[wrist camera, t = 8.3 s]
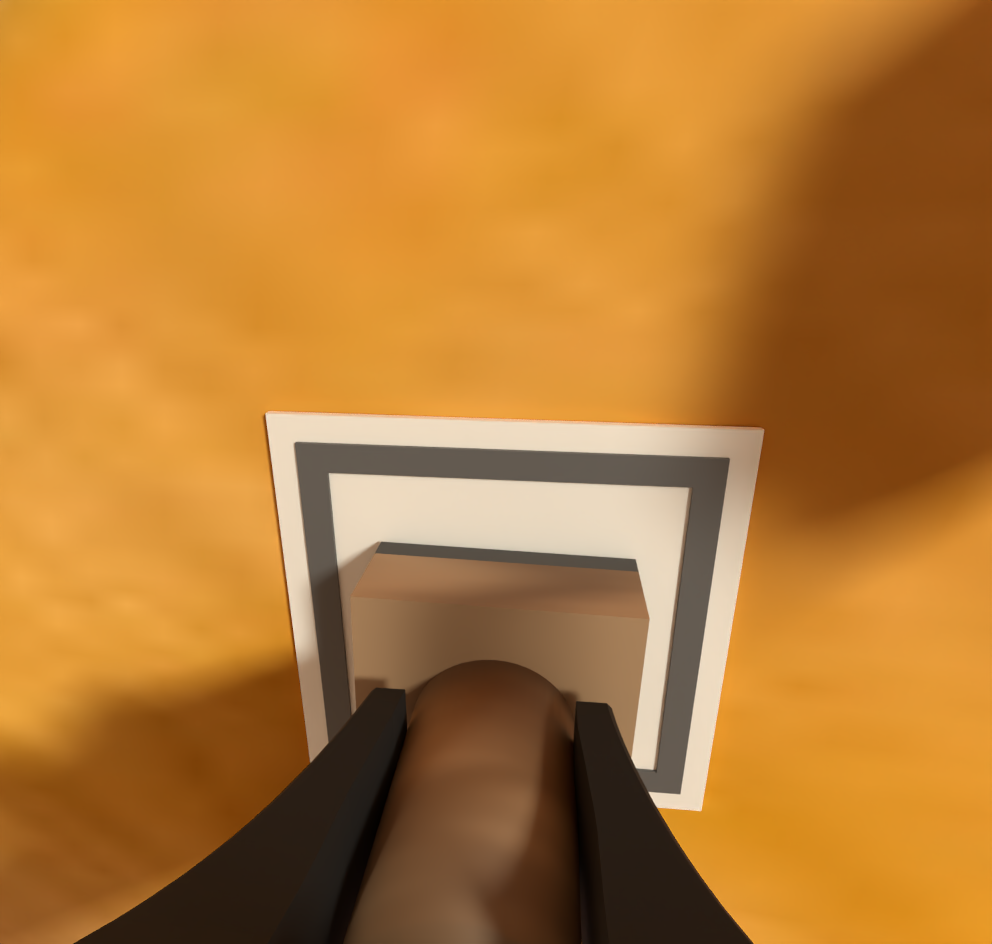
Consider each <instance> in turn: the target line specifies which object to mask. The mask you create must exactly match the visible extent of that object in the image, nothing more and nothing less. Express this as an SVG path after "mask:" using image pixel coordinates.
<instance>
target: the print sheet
mask: <svg viewBox="0 0 992 944" xmlns="http://www.w3.org/2000/svg"><path fill="white" fill-rule="evenodd" d="M265 414H266V422H267V430H268V438H269V445H270V453H271V461H272V469H273V477H274V484H275V492H276V500H277V508H278V516H279V523H280V531H281V539H282V547H283V555H284V562H285V570H286V578H287V586H288V593H289V601H290V609H291V617H292V625H293V632H294V640H295V648H296V656H297V664H298V671H299V679H300V687H301V695H302V703H303V710H304V718H305V726H306V734H307V742H308V749H309V757H310V763H311V762H312V761H313V760H314V758H315V757H316V756H317V755H318V754H319V753H320V752H321V751H322V750H323V748H324V747H325V746H326V745H327V744H328V743H329V742H330V741H331V740H332V738H333V737H334V736H335V735H336V734H337V733H338V731H339V730H340V729H341V728H342V727H343V726H344V724H345V723H346V722H347V721H348V720H349V718H350V717H351V716H352V715H353V713H354V712H355V711H356V698H355V679H354V661H353V642H352V624H351V605H350V596H351V594H352V592H353V590H354V589H355V587H356V585H357V583H358V582H359V580H360V578H361V576H362V575H363V573H364V571H365V569H366V567H367V566H368V564H369V562H370V560H371V559H372V557H373V555H374V553H375V552H376V550H377V548H378V546H379V545H380V543H381V542H394V543H408V544H423V545H437V546H452V547H466V548H481V549H496V550H510V551H525V552H539V553H554V554H568V555H583V556H597V557H612V558H626V559H636V563H637V567H638V571H639V575H640V580H641V584H642V588H643V593H644V597H645V601H646V605H647V610H648V614H649V618H650V620H649V628H648V636H647V643H646V651H645V658H644V666H643V674H642V681H641V689H640V696H639V704H638V712H637V719H636V727H635V734H634V742H633V750H632V757H631V759H632V761H633V763H634V765H635V767H636V769H637V771H638V773H639V775H640V777H641V779H642V781H643V783H644V785H645V787H646V788H647V790H648V792H649V794H650V796H651V798H652V800H653V802H654V803H655V805H656V807H658V808H671V809H683V810H695V811H701V810H702V804H703V797H704V791H705V785H706V779H707V773H708V767H709V761H710V755H711V749H712V743H713V737H714V731H715V725H716V719H717V713H718V707H719V701H720V695H721V689H722V683H723V677H724V671H725V665H726V659H727V653H728V647H729V641H730V635H731V629H732V623H733V617H734V611H735V605H736V599H737V593H738V587H739V581H740V574H741V568H742V562H743V556H744V550H745V544H746V538H747V532H748V526H749V520H750V514H751V508H752V502H753V496H754V490H755V484H756V478H757V472H758V466H759V460H760V454H761V448H762V442H763V436H764V429H763V428H762V427H734V426H704V425H673V424H643V423H613V422H583V421H553V420H523V419H493V418H463V417H433V416H403V415H372V414H342V413H312V412H282V411H268V412H267V413H265Z"/></svg>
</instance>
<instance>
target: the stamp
mask: <svg viewBox="0 0 992 944" xmlns="http://www.w3.org/2000/svg"><path fill="white" fill-rule="evenodd" d="M350 605H351V624H352V642H353V661H354V679H355V698H356V710H357V709H358V707H359V706H360V705H361V704H362V702H363V701H364V700H365V698H366V697H367V696H368V695H369V693H370V692H371V691H372V690H373V689H375V688H376V687H377V688H392V689H405V695H406V714H407V733H406V737H405V740H404V743H403V747H402V750H401V753H400V756H399V760H398V763H397V766H396V770H395V773H394V776H393V780H392V783H391V786H390V790H389V793H388V796H387V800H386V803H385V806H384V810H383V813H382V816H381V819H380V823H379V826H378V829H377V833H376V836H375V839H374V843H373V846H372V849H371V853H370V856H369V859H368V863H367V866H366V869H365V873H364V876H363V879H362V883H361V886H360V889H359V892H358V896H357V899H356V902H355V906H354V909H353V912H352V916H351V919H350V922H349V926H348V929H347V932H346V936H345V939H344V942H343V944H582V941H581V910H580V878H579V847H578V821H577V808H576V794H575V784H574V750H573V740H574V724H575V709H576V701H583V702H597V703H607V704H608V705H609V706H610V707H611V708H612V710H613V714H614V717H615V720H616V723H617V725H618V728H619V731H620V733H621V736H622V738H623V741H624V743H625V745H626V747H627V750H628V752H629V754H630V756H631V757H632V750H633V742H634V734H635V727H636V719H637V712H638V704H639V696H640V689H641V681H642V674H643V666H644V658H645V651H646V643H647V636H648V628H649V620H650V618H649V614H648V610H647V605H646V601H645V597H644V593H643V588H642V584H641V580H640V575H639V571H638V567H637V563H636V559H626V558H612V557H597V556H583V555H568V554H554V553H539V552H525V551H510V550H496V549H481V548H466V547H452V546H437V545H423V544H408V543H394V542H381V543H380V545H379V546H378V548H377V550H376V552H375V553H374V555H373V557H372V559H371V560H370V562H369V564H368V566H367V567H366V569H365V571H364V573H363V575H362V576H361V578H360V580H359V582H358V583H357V585H356V587H355V589H354V590H353V592H352V594H351V596H350Z"/></svg>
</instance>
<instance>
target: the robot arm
mask: <svg viewBox="0 0 992 944" xmlns="http://www.w3.org/2000/svg"><path fill="white" fill-rule="evenodd" d="M406 733H407V714H406V695H405V689H392V688H377V687H376V688H375V689H373V690H372V691H371V692H370V693H369V695H368V696H367V697H366V698H365V700H364V701H363V702H362V704H361V705H360V706H359V707H358V709H357V710H356V711H355V712H354V713H353V715H352V716H351V717H350V718H349V720H348V721H347V722H346V723H345V724H344V726H343V727H342V728H341V729H340V730H339V731H338V733H337V734H336V735H335V736H334V737H333V738H332V740H331V741H330V742H329V743H328V744H327V745H326V746H325V747H324V748H323V750H322V751H321V752H320V753H319V754H318V755H317V756H316V757H315V758H314V760H313V761H312V762H311V763H310V764H309V765H308V766H307V767H306V768H305V769H304V770H303V771H302V772H301V773H300V774H299V775H298V776H297V777H296V778H295V779H294V780H293V781H292V782H291V783H290V784H289V785H288V786H287V787H286V788H285V789H284V790H283V791H282V792H281V793H280V794H279V795H278V796H277V797H276V798H275V799H274V800H273V801H272V802H271V803H270V804H269V805H268V806H267V807H266V808H265V809H264V810H262V811H261V812H260V813H259V814H258V815H257V816H256V817H255V818H254V819H252V820H251V821H250V822H249V823H248V824H247V825H245V826H244V827H243V828H242V829H241V830H240V831H239V832H237V833H236V834H235V835H234V836H233V837H231V838H230V839H229V840H228V841H226V842H225V843H224V844H223V845H221V846H220V847H219V848H218V849H216V850H215V851H214V852H213V853H211V854H210V855H209V856H207V857H206V858H205V859H204V860H202V861H201V862H200V863H198V864H197V865H196V866H194V867H193V868H192V869H190V870H189V871H188V872H186V873H185V874H184V875H182V876H181V877H179V878H178V879H176V880H175V881H173V882H172V883H171V884H169V885H168V886H166V887H165V888H163V889H162V890H160V891H159V892H157V893H156V894H154V895H153V896H151V897H150V898H148V899H147V900H145V901H144V902H142V903H141V904H139V905H138V906H136V907H135V908H133V909H131V910H130V911H128V912H127V913H125V914H123V915H122V916H120V917H119V918H117V919H115V920H114V921H112V922H110V923H108V924H107V925H105V926H103V927H101V928H100V929H98V930H96V931H94V932H93V933H91V934H89V935H88V936H86V937H84V938H82V939H81V940H79V941H77V942H75V943H74V944H343V942H344V939H345V936H346V932H347V929H348V926H349V922H350V919H351V916H352V912H353V909H354V906H355V902H356V899H357V896H358V892H359V889H360V886H361V883H362V879H363V876H364V873H365V869H366V866H367V863H368V859H369V856H370V853H371V849H372V846H373V843H374V839H375V836H376V833H377V829H378V826H379V823H380V819H381V816H382V813H383V810H384V806H385V803H386V800H387V796H388V793H389V790H390V786H391V783H392V780H393V776H394V773H395V770H396V766H397V763H398V760H399V756H400V753H401V750H402V747H403V743H404V740H405V737H406ZM573 750H574V784H575V794H576V808H577V821H578V847H579V878H580V910H581V939H582V944H753V942H752V941H751V940H750V939H749V938H748V936H747V935H746V934H745V933H744V932H743V930H742V929H741V928H740V927H739V925H738V924H737V923H736V922H735V921H734V919H733V918H732V917H731V916H730V915H729V913H728V912H727V911H726V910H725V909H724V907H723V906H722V905H721V903H720V902H719V901H718V899H717V898H716V897H715V895H714V894H713V893H712V891H711V890H710V889H709V887H708V886H707V884H706V883H705V882H704V880H703V879H702V878H701V876H700V875H699V873H698V872H697V870H696V869H695V868H694V866H693V865H692V863H691V862H690V860H689V859H688V857H687V856H686V854H685V853H684V851H683V850H682V848H681V847H680V845H679V844H678V842H677V840H676V839H675V837H674V836H673V834H672V832H671V831H670V829H669V827H668V826H667V824H666V822H665V821H664V819H663V817H662V816H661V814H660V812H659V811H658V809H657V807H656V805H655V803H654V802H653V800H652V798H651V796H650V794H649V792H648V790H647V788H646V787H645V785H644V783H643V781H642V779H641V777H640V775H639V773H638V771H637V769H636V767H635V765H634V763H633V761H632V759H631V756H630V754H629V752H628V750H627V747H626V745H625V743H624V741H623V738H622V736H621V733H620V731H619V728H618V725H617V723H616V720H615V717H614V714H613V710H612V708H611V707H610V706H609V705H608V704H607V703H597V702H583V701H576V709H575V724H574V740H573Z"/></svg>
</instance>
